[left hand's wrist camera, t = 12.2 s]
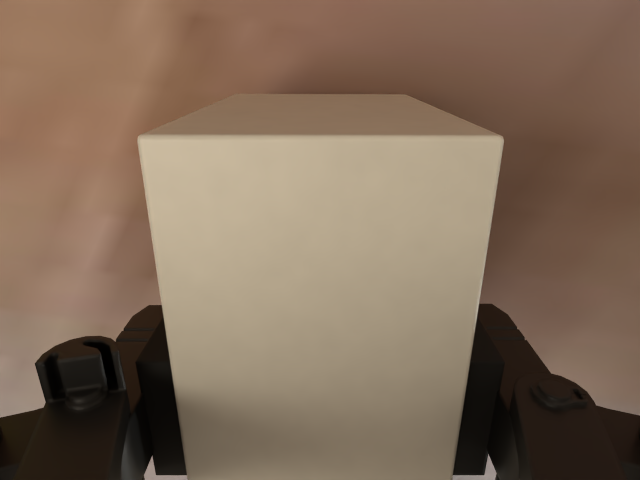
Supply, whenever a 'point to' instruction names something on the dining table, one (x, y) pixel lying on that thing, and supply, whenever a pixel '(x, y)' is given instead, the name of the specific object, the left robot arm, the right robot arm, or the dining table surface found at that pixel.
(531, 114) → the dining table surface
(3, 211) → the dining table surface
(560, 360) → the dining table surface
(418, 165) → the post
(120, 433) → the left robot arm
